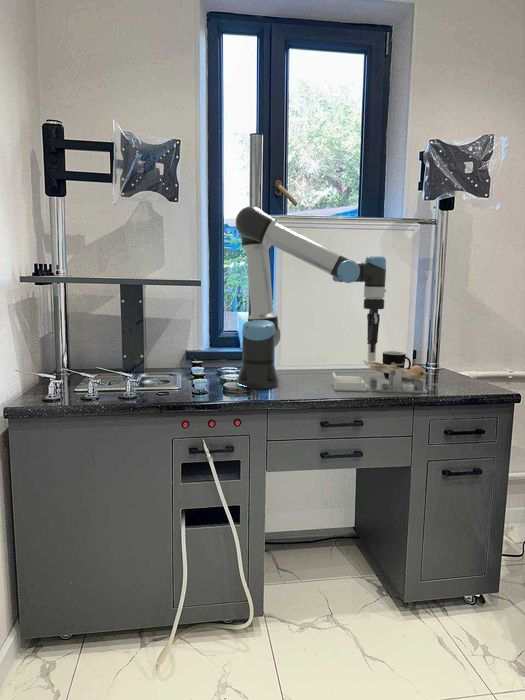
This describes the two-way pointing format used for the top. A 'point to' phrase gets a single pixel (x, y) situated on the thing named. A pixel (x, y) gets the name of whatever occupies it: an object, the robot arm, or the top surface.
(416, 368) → the ball
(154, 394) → the top surface
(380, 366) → the wooden ramp
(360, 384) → the dish
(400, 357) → the mug
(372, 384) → the stand
